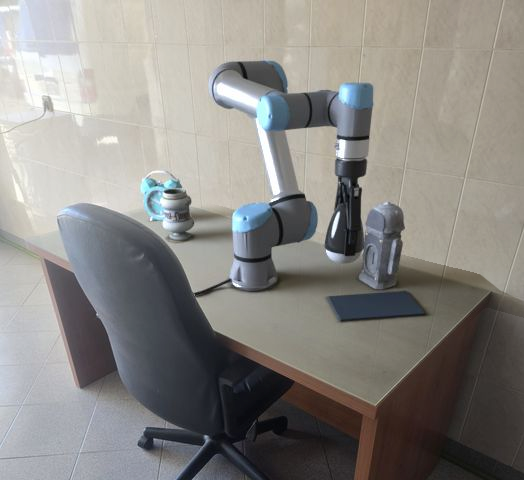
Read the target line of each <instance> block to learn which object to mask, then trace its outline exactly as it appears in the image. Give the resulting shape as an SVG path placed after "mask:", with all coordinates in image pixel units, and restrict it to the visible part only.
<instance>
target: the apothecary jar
mask: <svg viewBox="0 0 524 480" xmlns="http://www.w3.org/2000/svg"><path fill="white" fill-rule="evenodd" d="M192 202H193V201H192V198H191V196H190V195H188V194H187V190H186V189H185V188H183V187H182V188H172V189H167V190H165V191H163V197H162V198H161V199H160V205H161V206H162V207H163V208H164V213H165V219H164V220H162V227H163V229H164V230H165V231H166V232H168V233H169V232H170V234H168V236H167V238H166V239H167V240H169V241H170V242H173V243H184V242H188V241H191V240H192V239H193V238H194V237H193V234H192V233H191V232H188V231H190V230H191V229H192V228H193V227H194V226H195V219H194V218H193V217H192V216H191V211H190V206H191V204H192Z"/></svg>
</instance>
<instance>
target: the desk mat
mask: <svg viewBox="0 0 524 480" xmlns="http://www.w3.org/2000/svg"><path fill="white" fill-rule="evenodd" d="M327 300H329V303H330V304H331V306H332V308H333V311H334V313H335V314H336V316H337V318H338V320H339V322H351V321H363V320H377V319H391V318H404V317H415V316H416V317H417V316H425V315H426V312H425V311H424V310H423V308H422V307H421V306H420V305H419V304H418V302H416V300H415V299H414V298H413V297H412V296H411V295H410V294H409V293H408V291H407V290H399V291H398V290H397V291H384V292H371V293H356V294H341V295H328V296H327Z"/></svg>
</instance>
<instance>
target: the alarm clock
mask: <svg viewBox="0 0 524 480" xmlns="http://www.w3.org/2000/svg"><path fill="white" fill-rule="evenodd" d="M154 173H155V174H156V173H157V174H159V173H161V174H165V175H168V176H170V177H171V178H170V179H168V180H167V181H165V183H163V182H162V180H156V179H154V178H151V177H150V176H151V175H153V174H154ZM141 182H142V183H141V184H140V192H141V194H142V195H144V196H143V206H144V209H145V211H146V212H147V214H148V216H150V219H149V221H150V222H153V221H155V220H158V221H164V219H165V213H164V208H163V207H162V206H161V205H160V199H161V198H162V197H163V191H165V190H167V189H172V188H182V189H183V185H182V184H181V180H180V178H176V177H175V176H174V175H173V174H172V173H170V172H169V171H167V170H161V169H160V170H153V171H151V172H149V173H148V175H146V176H145V177H142V180H141Z"/></svg>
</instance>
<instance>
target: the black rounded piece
mask: <svg viewBox="0 0 524 480" xmlns="http://www.w3.org/2000/svg"><path fill="white" fill-rule="evenodd" d="M354 226H355V225H354ZM345 229H347V213H346V204H345V203H344V202H343V203H341V204H340V205H339V206H338V207H337V208H336V210H335V211H334V210H333V213H332V215H331V218H330V221H329V223H328V227H327V230H326V232H325V233H326V234H325V239H324V249H325V252H326V255H327V257H328V258H329V259H330V260H331V261H332V262H335V263H337V264H350V263H353V262H355V261H356V260H358V259H359V258H360V256H361V255H362V253H363V251H364V238H365V231H364V225H363V220H362V219H361V230H360V231H357V242H356V253H355V256H344V248H345V236H346V232H345Z"/></svg>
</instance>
